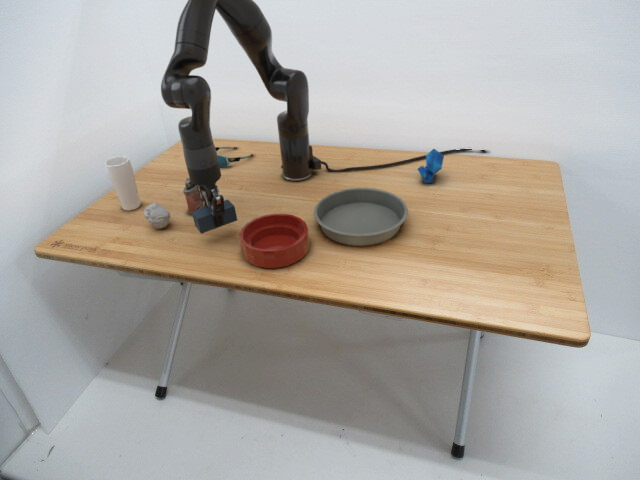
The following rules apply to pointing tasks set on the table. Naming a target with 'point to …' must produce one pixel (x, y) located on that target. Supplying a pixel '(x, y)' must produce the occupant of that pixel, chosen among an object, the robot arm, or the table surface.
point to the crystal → (431, 165)
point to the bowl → (274, 240)
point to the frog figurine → (157, 215)
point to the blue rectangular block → (205, 217)
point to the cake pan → (360, 215)
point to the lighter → (192, 196)
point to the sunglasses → (223, 160)
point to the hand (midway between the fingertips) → (216, 221)
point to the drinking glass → (123, 182)
